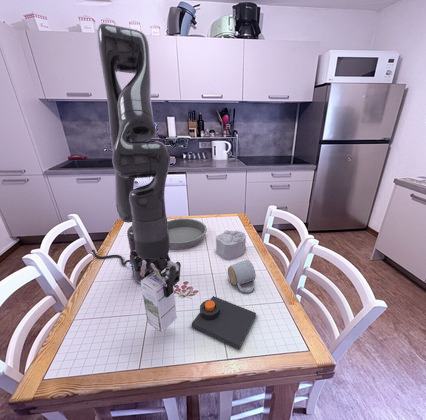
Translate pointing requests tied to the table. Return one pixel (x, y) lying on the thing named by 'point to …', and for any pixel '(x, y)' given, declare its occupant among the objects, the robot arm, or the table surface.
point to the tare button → (209, 306)
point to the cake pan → (185, 233)
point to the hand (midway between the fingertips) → (158, 290)
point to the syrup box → (158, 302)
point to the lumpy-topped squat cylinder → (230, 244)
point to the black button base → (225, 322)
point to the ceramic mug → (242, 274)
